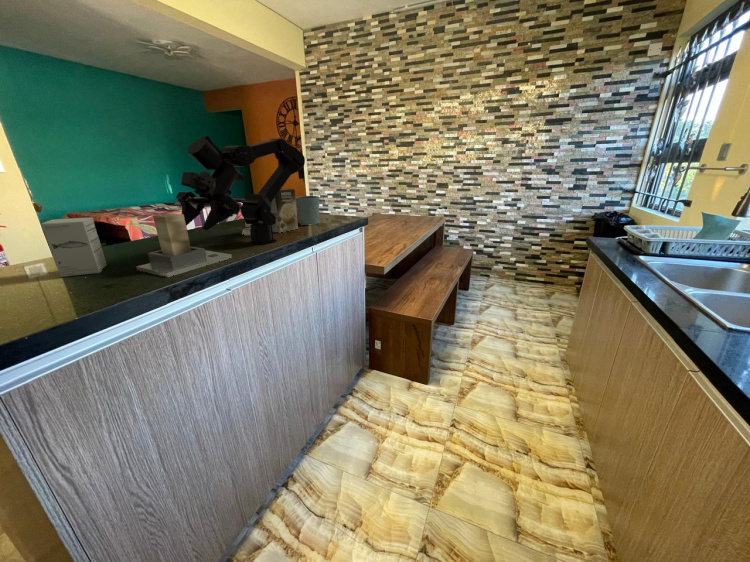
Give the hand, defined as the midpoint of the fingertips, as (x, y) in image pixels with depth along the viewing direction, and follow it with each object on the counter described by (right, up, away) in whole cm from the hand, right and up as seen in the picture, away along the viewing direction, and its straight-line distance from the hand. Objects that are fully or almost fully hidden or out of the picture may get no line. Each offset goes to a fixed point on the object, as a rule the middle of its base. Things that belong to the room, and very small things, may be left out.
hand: (192, 228), depth 81 cm
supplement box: (-23, -12, -6) cm, 26 cm away
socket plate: (-1, -9, 0) cm, 9 cm away
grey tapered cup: (+19, +11, +56) cm, 60 cm away
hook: (0, +4, +38) cm, 39 cm away
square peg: (-2, -9, -2) cm, 10 cm away
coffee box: (+12, +6, +43) cm, 45 cm away
